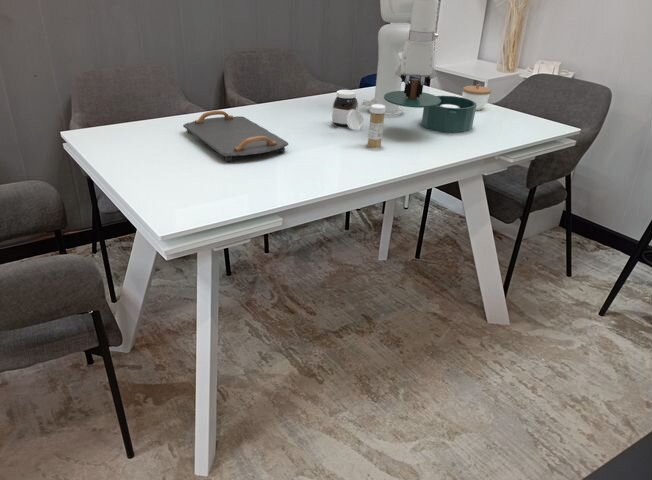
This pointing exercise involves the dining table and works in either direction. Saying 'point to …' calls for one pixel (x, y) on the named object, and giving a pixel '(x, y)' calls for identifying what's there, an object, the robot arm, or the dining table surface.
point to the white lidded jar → (477, 95)
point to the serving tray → (234, 135)
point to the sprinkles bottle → (376, 125)
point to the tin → (450, 115)
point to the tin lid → (412, 97)
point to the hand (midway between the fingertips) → (412, 95)
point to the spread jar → (346, 110)
